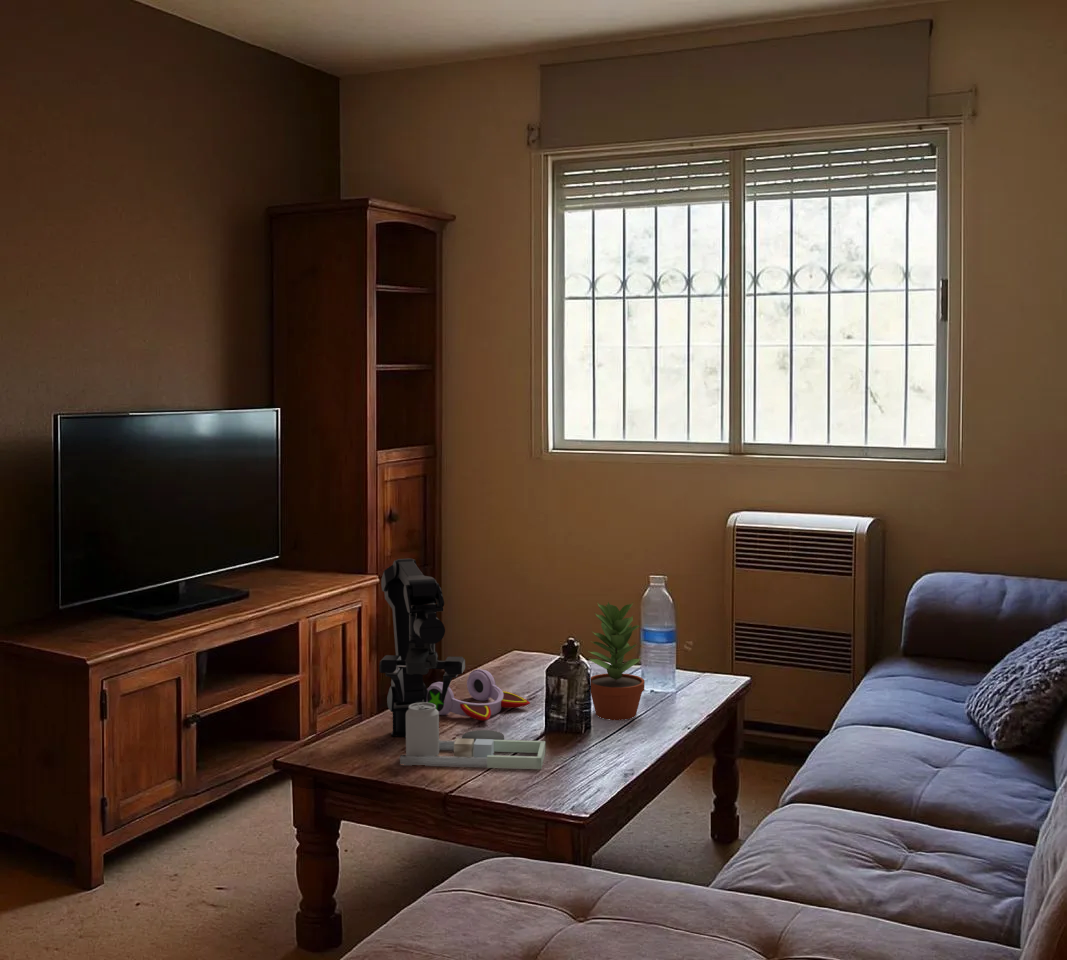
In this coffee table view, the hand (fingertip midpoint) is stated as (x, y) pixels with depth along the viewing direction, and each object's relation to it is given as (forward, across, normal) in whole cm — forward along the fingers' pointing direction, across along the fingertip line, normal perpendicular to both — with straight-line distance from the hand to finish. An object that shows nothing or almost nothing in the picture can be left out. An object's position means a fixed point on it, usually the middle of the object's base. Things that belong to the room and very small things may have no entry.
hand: (422, 702), depth 267 cm
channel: (+13, +6, 0) cm, 14 cm away
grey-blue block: (+13, +14, 0) cm, 19 cm away
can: (+13, 0, 0) cm, 13 cm away
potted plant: (+13, +43, +37) cm, 58 cm away
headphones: (+13, +8, +37) cm, 40 cm away
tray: (+13, +21, 0) cm, 24 cm away
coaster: (+13, +12, +14) cm, 22 cm away
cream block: (+13, +9, 0) cm, 16 cm away
